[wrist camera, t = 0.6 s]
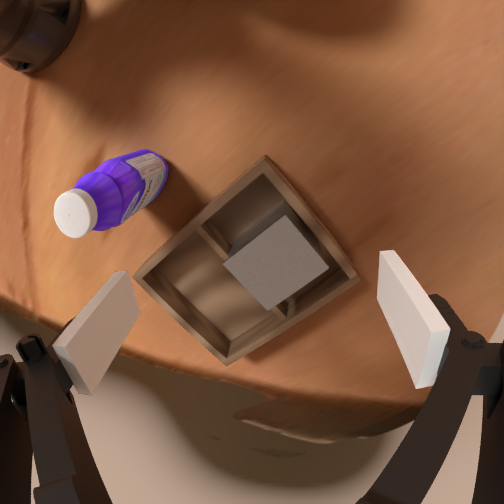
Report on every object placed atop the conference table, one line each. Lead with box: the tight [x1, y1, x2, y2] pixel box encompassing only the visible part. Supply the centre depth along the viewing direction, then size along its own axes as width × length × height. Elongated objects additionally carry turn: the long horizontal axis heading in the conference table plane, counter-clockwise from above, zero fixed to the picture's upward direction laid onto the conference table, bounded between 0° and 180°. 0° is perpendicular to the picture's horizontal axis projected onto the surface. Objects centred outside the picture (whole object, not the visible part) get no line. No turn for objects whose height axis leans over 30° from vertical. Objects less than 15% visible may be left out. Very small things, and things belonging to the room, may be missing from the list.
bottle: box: [54, 150, 169, 238], centre depth 32 cm, size 7×6×17 cm
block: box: [223, 200, 329, 311], centre depth 37 cm, size 7×8×7 cm
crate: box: [132, 155, 361, 366], centre depth 41 cm, size 18×22×5 cm
